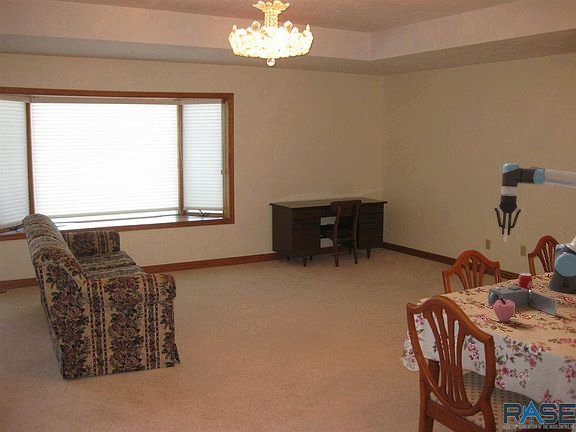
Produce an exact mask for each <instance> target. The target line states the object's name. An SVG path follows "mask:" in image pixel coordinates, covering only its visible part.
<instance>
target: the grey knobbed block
mask: <svg viewBox="0 0 576 432" xmlns="http://www.w3.org/2000/svg"><path fill="white" fill-rule="evenodd" d="M488 289H489V290H488V296H487V299H488V300H487V301H488V302H487V303H488V304H489V305H492V306H494V304H495V302H496V301H497V300H500V298H502V299H505V300H511V301H513V302H514V303H515V308H518V307H519V308H520V307H525V306H529V305H528V301H529V290H527V289H524V288H521V287H518V285H508V286H501V287H500V286H496V287H490V288H488Z"/></svg>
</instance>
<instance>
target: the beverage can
mask: <svg viewBox="0 0 576 432" xmlns="http://www.w3.org/2000/svg"><path fill="white" fill-rule="evenodd" d="M517 286H518V287H521V288H524V289H527V290H533V289H532V288H533V287H532V286H533V276H532V274H531V273H527V272H520V273H519V275H518V276H517Z"/></svg>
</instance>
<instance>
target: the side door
mask: <svg viewBox="0 0 576 432" xmlns="http://www.w3.org/2000/svg"><path fill="white" fill-rule="evenodd" d="M527 306H530V307H532V308H534V309H537V310H540V311H542V312H544V313H546V314H549V315H552V316H554V317H555V316H557V311H558V310H557V307H558V300H557V299H554V298H552V297H550V296H547V295H544V294H541V293H538V292H535V291H534V290H533V289H531V290H529V301H528V305H527Z"/></svg>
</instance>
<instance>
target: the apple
mask: <svg viewBox="0 0 576 432" xmlns="http://www.w3.org/2000/svg"><path fill="white" fill-rule="evenodd" d="M492 306H493V308H492V309H493V312H494V313H495V315H496V318H497V319H498V320H499V321H500V322H504V323H507V322H510V320H511V318H512V317H513V316H514V315H515V310H516V307H515V303H514V302H513V301H511V300H505V299H502V298H500V300H497V301H496V302H495V304H494V305H492Z"/></svg>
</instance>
